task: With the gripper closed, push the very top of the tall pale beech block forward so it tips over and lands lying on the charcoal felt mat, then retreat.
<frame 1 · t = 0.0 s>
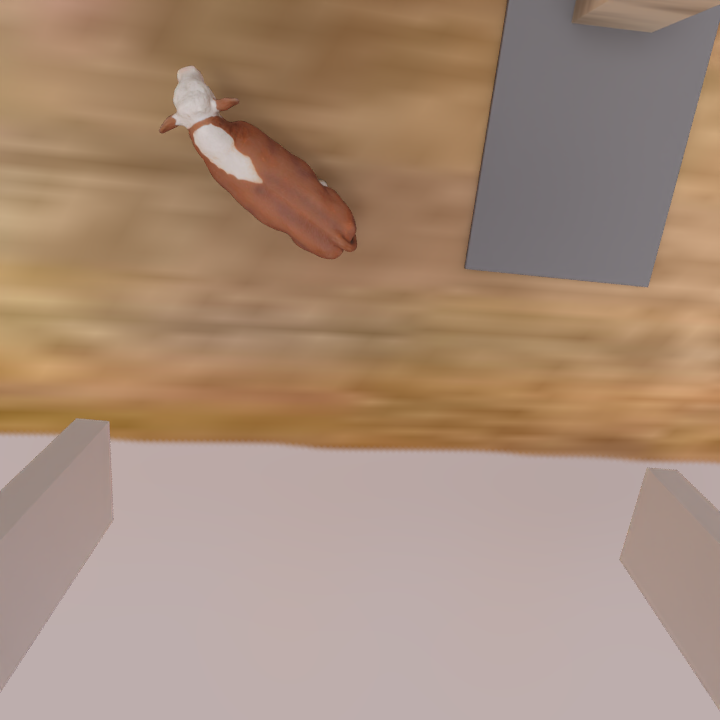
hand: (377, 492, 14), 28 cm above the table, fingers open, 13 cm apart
felt mat: (591, 108, 37), on the table
bull figurine: (275, 172, 39), on the table
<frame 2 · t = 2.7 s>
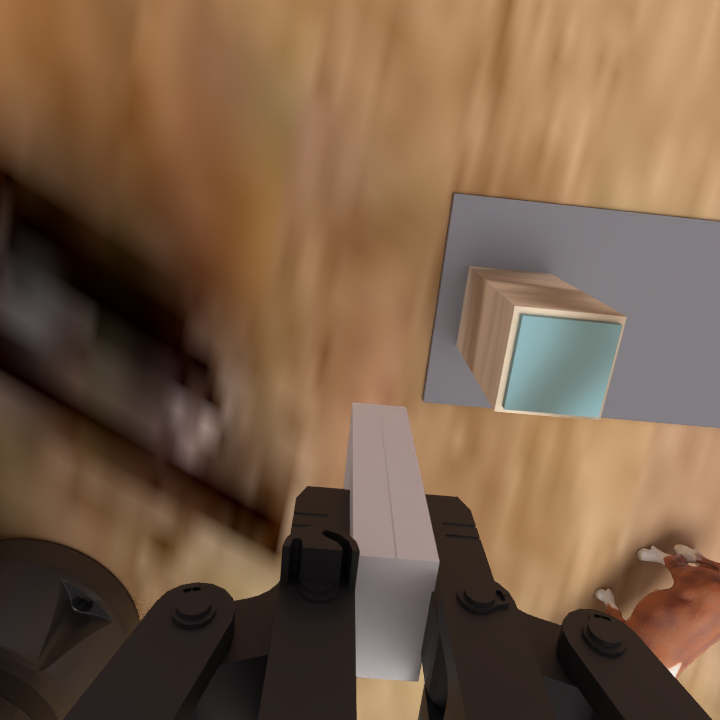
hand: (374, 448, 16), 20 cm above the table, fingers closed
beech block: (502, 310, 36), resting on felt mat
felt mat: (611, 319, 36), on the table
bull figurine: (623, 584, 43), on the table
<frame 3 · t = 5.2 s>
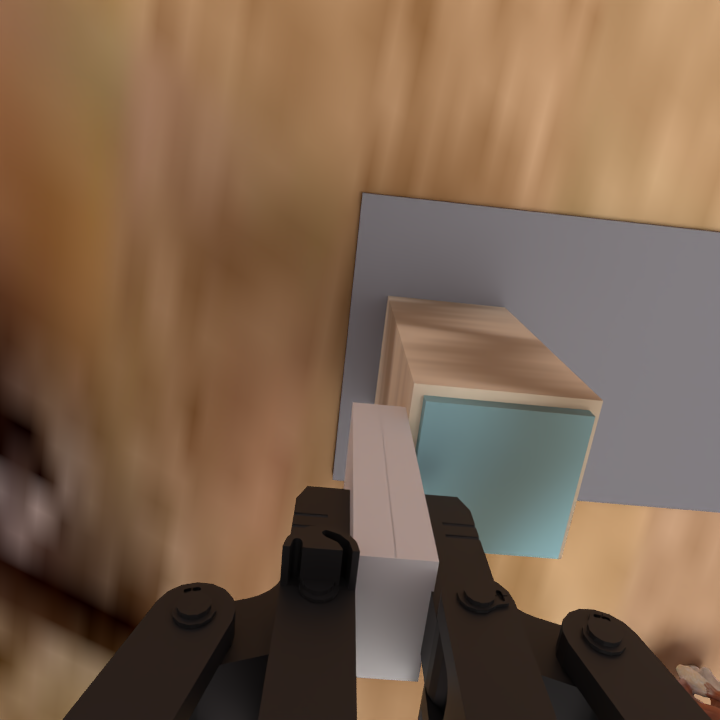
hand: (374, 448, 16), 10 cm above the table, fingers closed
beech block: (437, 357, 25), resting on felt mat, touching gripper
felt mat: (590, 369, 26), on the table
bull figurine: (608, 705, 33), on the table
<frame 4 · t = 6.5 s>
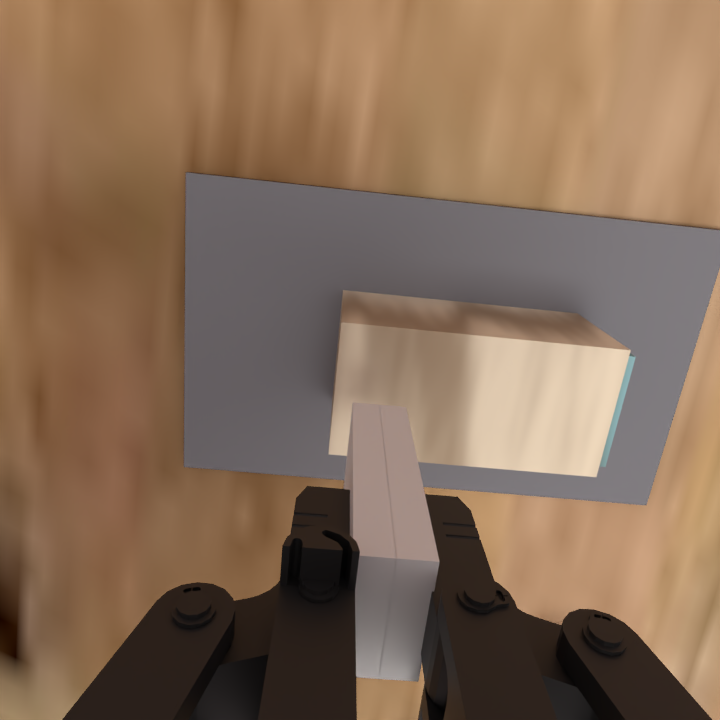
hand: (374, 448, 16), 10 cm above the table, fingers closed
beech block: (336, 366, 23), point 3 cm above the table, tilted 90°, touching felt mat
felt mat: (439, 353, 26), on the table
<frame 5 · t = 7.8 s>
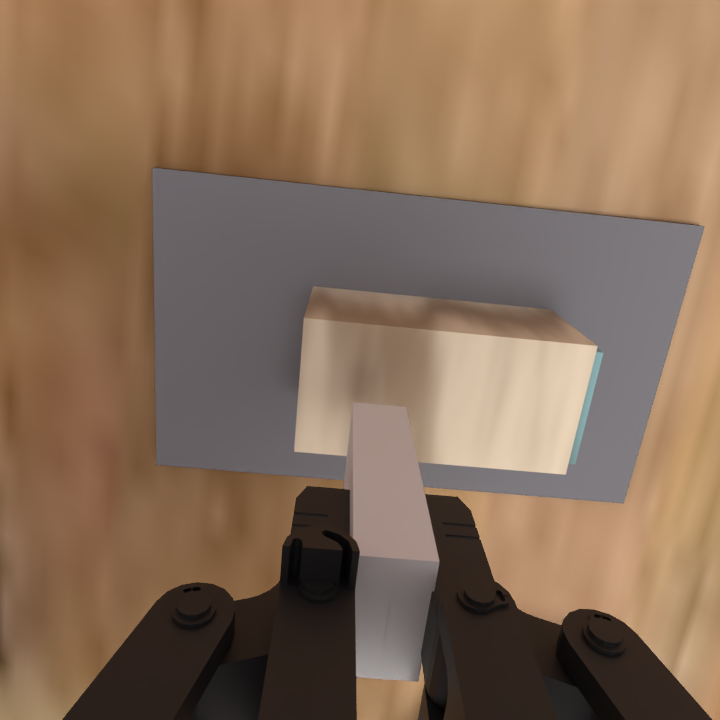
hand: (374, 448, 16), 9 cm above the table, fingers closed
beech block: (304, 363, 22), point 3 cm above the table, tilted 90°, touching felt mat
felt mat: (411, 350, 25), on the table
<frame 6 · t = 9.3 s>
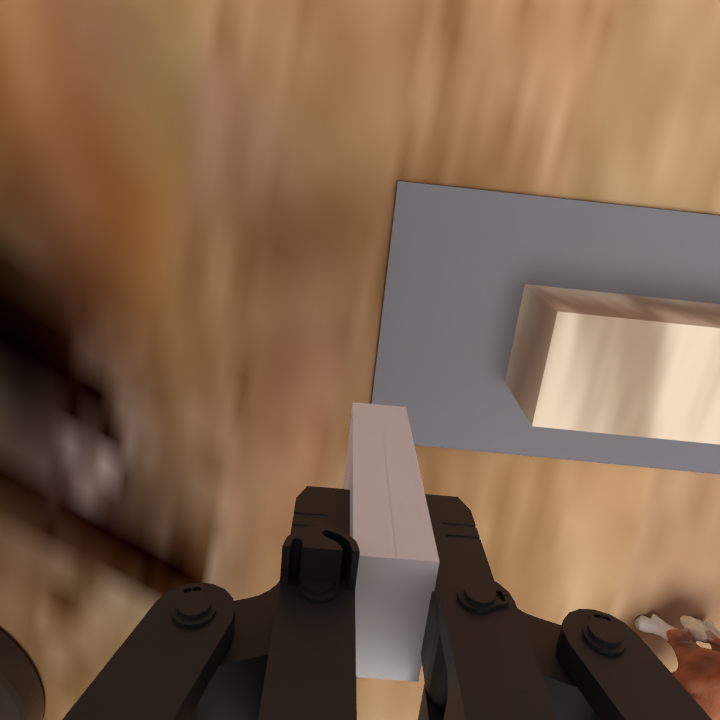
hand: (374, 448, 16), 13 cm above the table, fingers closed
beech block: (528, 351, 26), point 3 cm above the table, tilted 90°, touching felt mat
felt mat: (602, 341, 29), on the table
bull figurine: (617, 656, 36), on the table
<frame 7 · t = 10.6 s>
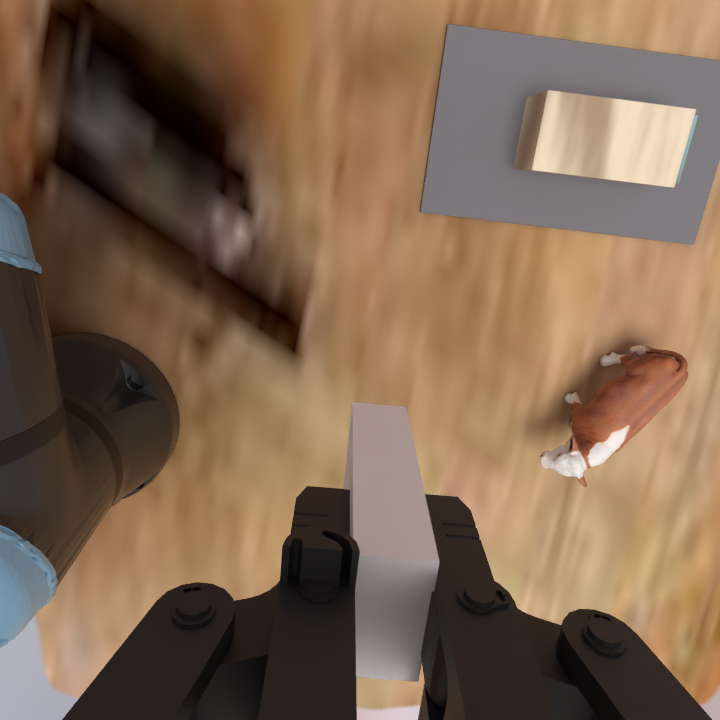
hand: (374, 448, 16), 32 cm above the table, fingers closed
beech block: (529, 132, 41), point 3 cm above the table, tilted 90°, touching felt mat
felt mat: (576, 141, 44), on the table
bull figurine: (587, 390, 51), on the table
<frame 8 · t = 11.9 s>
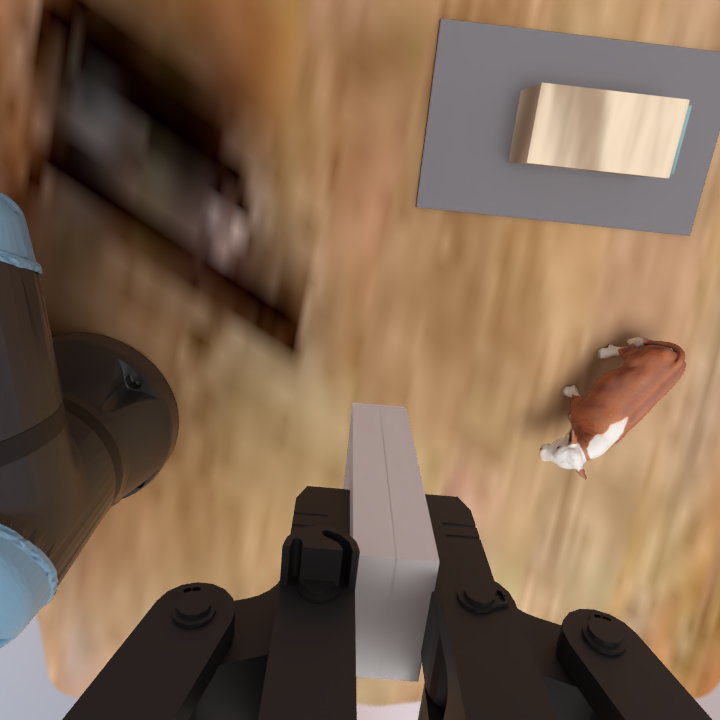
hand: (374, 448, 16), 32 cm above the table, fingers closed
beech block: (523, 125, 41), point 3 cm above the table, tilted 90°, touching felt mat
felt mat: (571, 133, 44), on the table
bull figurine: (586, 383, 51), on the table
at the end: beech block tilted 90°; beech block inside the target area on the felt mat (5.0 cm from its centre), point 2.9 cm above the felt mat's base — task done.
